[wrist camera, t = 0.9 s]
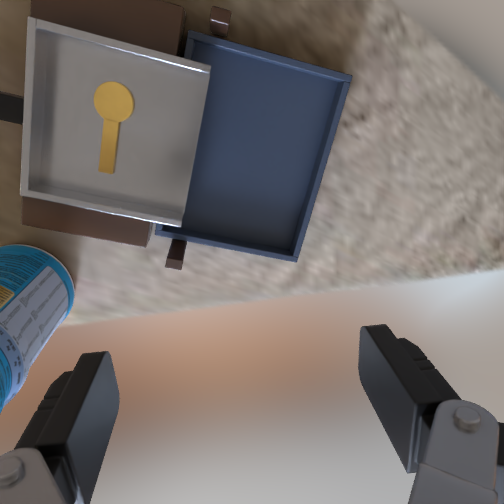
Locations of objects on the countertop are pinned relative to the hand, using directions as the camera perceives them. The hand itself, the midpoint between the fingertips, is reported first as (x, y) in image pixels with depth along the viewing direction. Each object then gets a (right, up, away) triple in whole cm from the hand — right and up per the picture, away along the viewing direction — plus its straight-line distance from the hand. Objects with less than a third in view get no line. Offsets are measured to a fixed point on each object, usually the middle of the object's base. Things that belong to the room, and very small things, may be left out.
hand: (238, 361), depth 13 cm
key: (-9, +12, +15) cm, 22 cm away
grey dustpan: (-12, +13, +15) cm, 23 cm away
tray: (0, +11, +19) cm, 22 cm away
